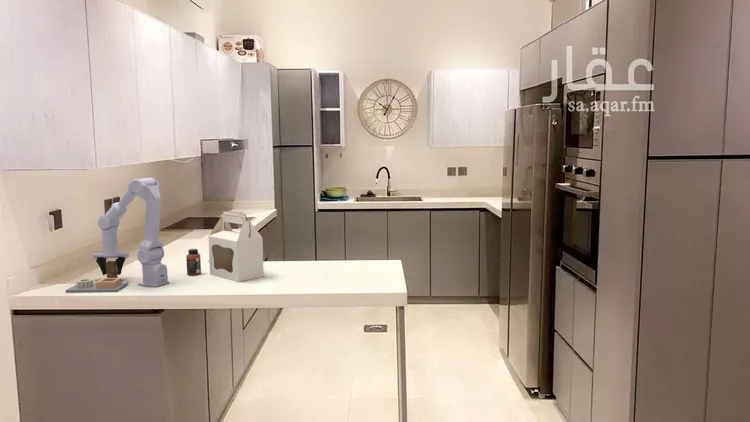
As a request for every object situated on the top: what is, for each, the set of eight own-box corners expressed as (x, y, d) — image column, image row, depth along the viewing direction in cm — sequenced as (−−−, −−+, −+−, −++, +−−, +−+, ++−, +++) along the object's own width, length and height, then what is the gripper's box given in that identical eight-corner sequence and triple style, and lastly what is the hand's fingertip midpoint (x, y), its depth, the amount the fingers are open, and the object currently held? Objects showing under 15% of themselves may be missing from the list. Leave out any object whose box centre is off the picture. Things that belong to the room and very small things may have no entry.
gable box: (209, 274, 253) (206, 212, 250) (234, 269, 263) (232, 209, 260) (238, 282, 239) (236, 216, 235) (264, 276, 248) (262, 213, 245)
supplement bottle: (202, 274, 252) (201, 249, 251) (188, 276, 249) (187, 251, 248) (199, 272, 257) (198, 247, 256) (185, 273, 254) (184, 248, 253)
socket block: (128, 284, 235) (127, 276, 235) (117, 291, 224) (117, 283, 224) (79, 285, 234) (78, 277, 234) (65, 292, 224) (65, 283, 223)
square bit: (117, 279, 245) (116, 260, 244) (114, 280, 242) (113, 262, 241) (110, 279, 245) (108, 261, 244) (106, 281, 242) (105, 262, 241)
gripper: (88, 245, 237) (90, 276, 239) (123, 244, 238) (125, 276, 240) (95, 242, 244) (97, 273, 246) (130, 241, 245) (131, 272, 247)
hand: (112, 274), depth 243 cm, fingers open, 6 cm apart
